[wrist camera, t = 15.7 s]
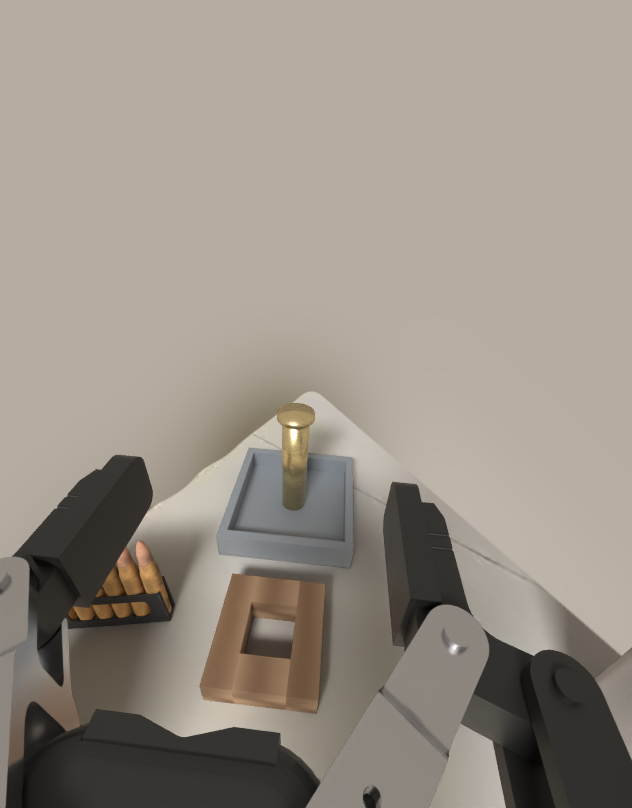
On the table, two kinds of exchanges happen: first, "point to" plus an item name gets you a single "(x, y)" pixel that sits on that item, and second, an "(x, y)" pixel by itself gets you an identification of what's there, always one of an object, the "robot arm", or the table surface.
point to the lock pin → (294, 452)
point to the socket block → (260, 675)
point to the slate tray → (290, 512)
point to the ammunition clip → (128, 595)
